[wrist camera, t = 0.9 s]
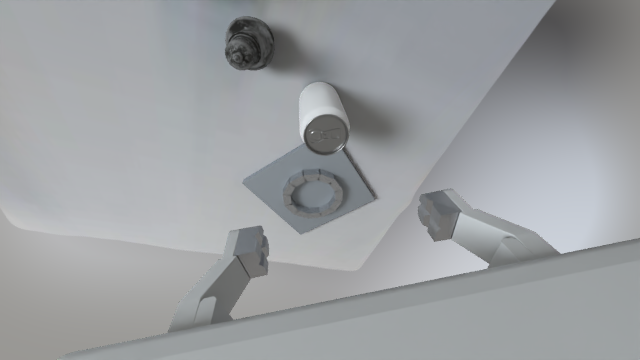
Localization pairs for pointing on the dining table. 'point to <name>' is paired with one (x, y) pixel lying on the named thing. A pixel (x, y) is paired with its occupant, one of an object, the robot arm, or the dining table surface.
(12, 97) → the dining table surface
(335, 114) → the can
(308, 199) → the board
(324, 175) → the collar
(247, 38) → the salt shaker
